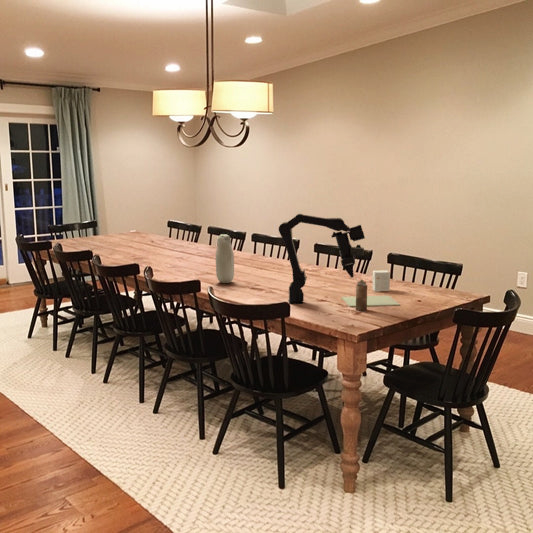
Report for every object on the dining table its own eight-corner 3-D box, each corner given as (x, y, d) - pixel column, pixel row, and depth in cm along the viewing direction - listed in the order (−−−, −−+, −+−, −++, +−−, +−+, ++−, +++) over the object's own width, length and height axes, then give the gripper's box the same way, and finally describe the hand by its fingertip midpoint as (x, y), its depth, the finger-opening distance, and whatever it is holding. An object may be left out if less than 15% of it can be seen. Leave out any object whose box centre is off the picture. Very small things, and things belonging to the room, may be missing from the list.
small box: (387, 289, 293) (387, 270, 292) (389, 291, 288) (390, 272, 286) (372, 289, 293) (372, 270, 291) (374, 292, 288) (375, 272, 286)
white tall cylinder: (237, 282, 316) (236, 233, 311) (226, 285, 308) (225, 235, 303) (224, 280, 322) (222, 232, 317) (212, 283, 314) (211, 234, 309)
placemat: (349, 306, 257) (349, 305, 257) (341, 298, 275) (341, 296, 275) (399, 305, 259) (399, 304, 259) (388, 296, 277) (388, 295, 277)
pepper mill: (357, 311, 249) (357, 281, 247) (354, 308, 254) (355, 278, 252) (368, 311, 250) (368, 280, 247) (365, 308, 254) (365, 278, 252)
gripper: (361, 242, 249) (369, 275, 251) (359, 237, 267) (367, 267, 269) (337, 248, 251) (346, 281, 253) (337, 243, 269) (345, 273, 271)
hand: (352, 275), depth 261 cm, fingers open, 9 cm apart
